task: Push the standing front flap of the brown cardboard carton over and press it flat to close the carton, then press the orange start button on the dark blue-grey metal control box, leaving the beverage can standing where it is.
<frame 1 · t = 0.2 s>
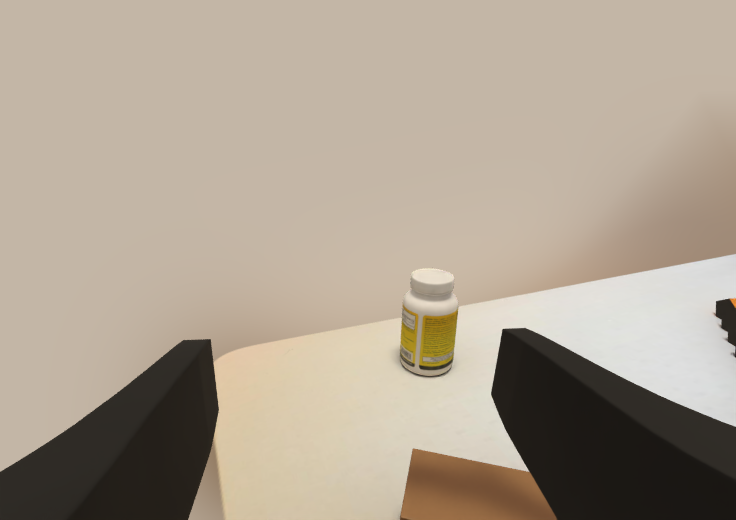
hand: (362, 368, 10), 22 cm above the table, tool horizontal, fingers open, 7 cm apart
pill bottle: (425, 363, 49), on the table
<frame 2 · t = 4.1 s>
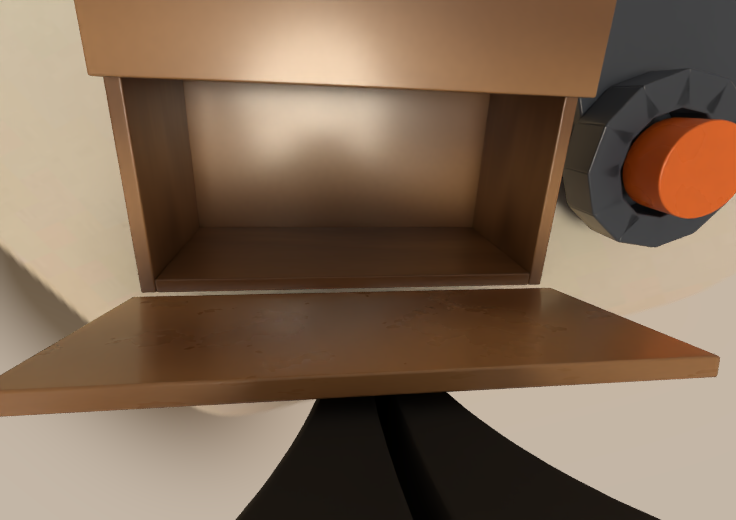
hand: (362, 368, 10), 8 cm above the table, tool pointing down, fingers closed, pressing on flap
start button: (683, 167, 14), point 4 cm above the table, slide at 0.1 cm
carton: (343, 93, 15), on the table
flap: (368, 329, 9), point 9 cm above the table, hinge at 78.0°, touching gripper
control box: (666, 72, 16), on the table
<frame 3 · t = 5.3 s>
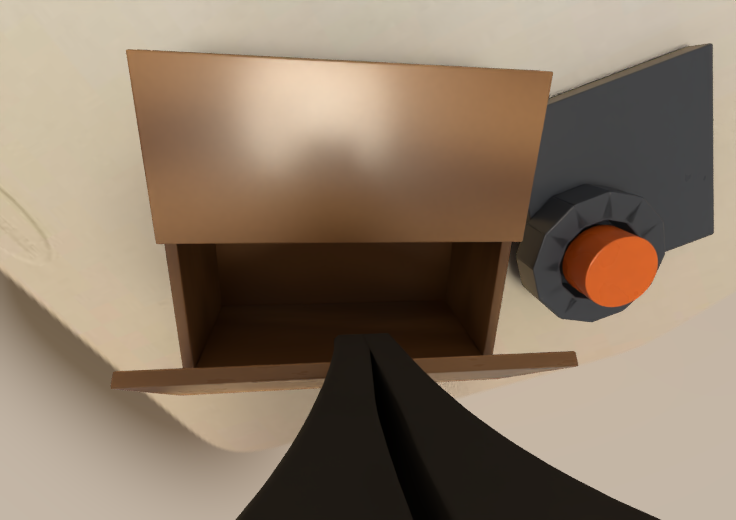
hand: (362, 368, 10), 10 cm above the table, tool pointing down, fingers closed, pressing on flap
start button: (608, 265, 18), point 4 cm above the table, slide at 0.1 cm
carton: (338, 200, 19), on the table
flap: (352, 376, 13), point 8 cm above the table, hinge at 49.1°, touching gripper
control box: (603, 176, 20), on the table
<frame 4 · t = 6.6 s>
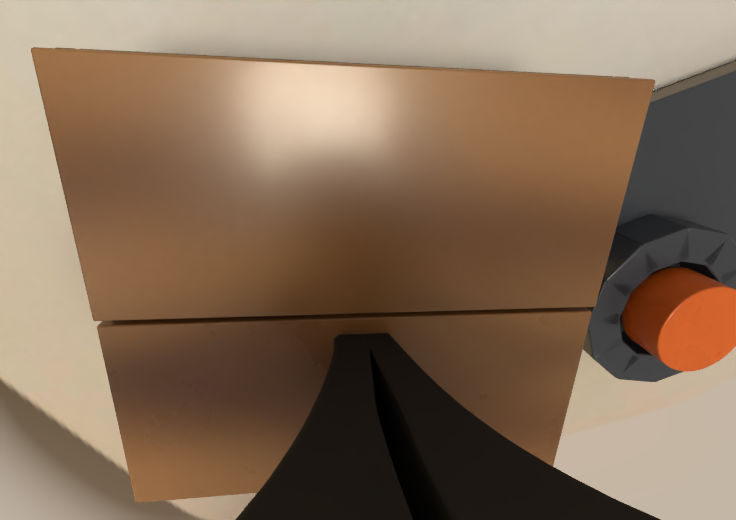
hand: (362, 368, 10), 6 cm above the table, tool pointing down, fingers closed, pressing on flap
start button: (682, 318, 14), point 4 cm above the table, slide at 0.1 cm
carton: (344, 235, 15), on the table
flap: (359, 403, 11), point 6 cm above the table, hinge at -0.7°, touching gripper
control box: (666, 203, 17), on the table
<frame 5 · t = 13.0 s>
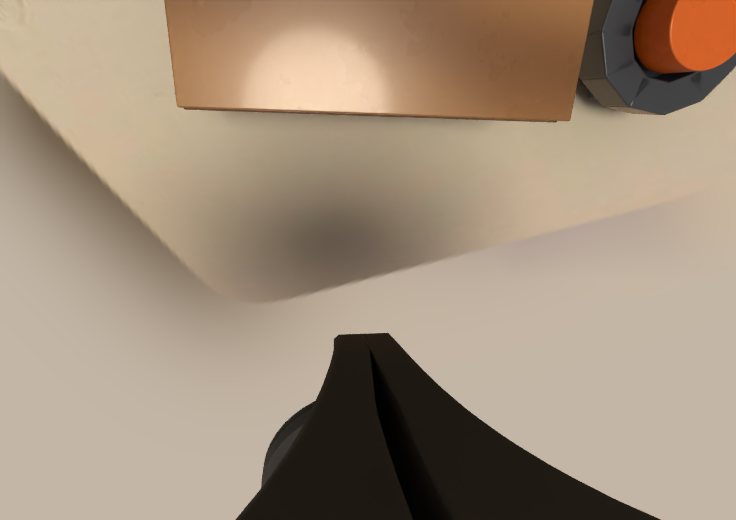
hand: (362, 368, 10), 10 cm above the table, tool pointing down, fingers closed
start button: (692, 23, 15), point 4 cm above the table, slide at 0.1 cm
flap: (389, 13, 11), point 6 cm above the table, hinge at -0.7°
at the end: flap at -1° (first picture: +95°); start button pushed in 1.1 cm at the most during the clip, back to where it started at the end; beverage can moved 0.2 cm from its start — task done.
